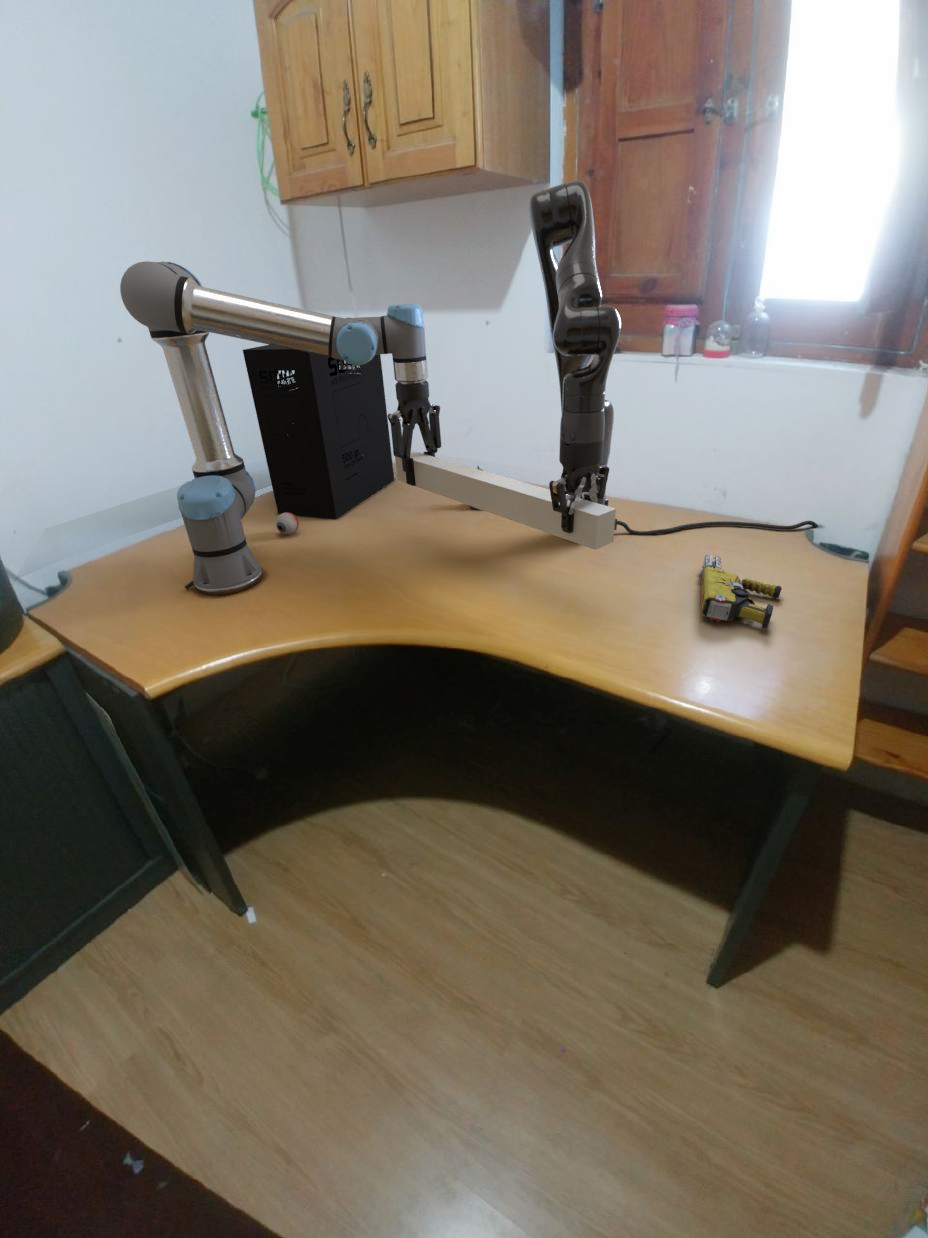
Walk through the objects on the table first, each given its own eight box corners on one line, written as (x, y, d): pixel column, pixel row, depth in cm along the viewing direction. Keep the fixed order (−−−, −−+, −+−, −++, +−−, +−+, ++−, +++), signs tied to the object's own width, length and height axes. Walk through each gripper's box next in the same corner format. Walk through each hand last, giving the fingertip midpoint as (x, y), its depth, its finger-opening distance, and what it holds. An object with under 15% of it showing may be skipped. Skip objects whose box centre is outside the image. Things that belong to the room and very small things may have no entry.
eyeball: (273, 537, 164) (268, 516, 161) (287, 528, 169) (282, 508, 166) (291, 539, 161) (286, 518, 158) (305, 530, 166) (301, 510, 163)
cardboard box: (342, 476, 210) (320, 334, 188) (394, 479, 204) (377, 333, 181) (277, 513, 180) (242, 349, 158) (336, 518, 174) (308, 348, 151)
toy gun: (779, 564, 127) (705, 551, 131) (794, 614, 107) (705, 598, 111) (772, 584, 129) (699, 571, 133) (786, 637, 109) (699, 620, 113)
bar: (613, 541, 111) (616, 508, 108) (595, 550, 108) (598, 515, 105) (413, 475, 153) (411, 450, 150) (397, 480, 151) (394, 454, 148)
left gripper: (433, 373, 143) (440, 470, 155) (368, 385, 134) (381, 487, 145) (453, 376, 138) (458, 476, 150) (387, 388, 129) (399, 494, 140)
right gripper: (591, 424, 111) (587, 512, 119) (537, 440, 103) (536, 533, 112) (625, 430, 106) (618, 522, 114) (570, 447, 98) (567, 544, 107)
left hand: (420, 481), depth 148 cm, fingers closed on bar, 5 cm apart
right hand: (577, 527), depth 113 cm, fingers closed on bar, 5 cm apart
